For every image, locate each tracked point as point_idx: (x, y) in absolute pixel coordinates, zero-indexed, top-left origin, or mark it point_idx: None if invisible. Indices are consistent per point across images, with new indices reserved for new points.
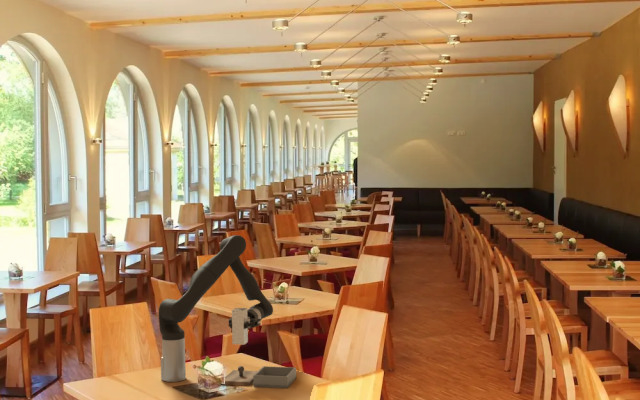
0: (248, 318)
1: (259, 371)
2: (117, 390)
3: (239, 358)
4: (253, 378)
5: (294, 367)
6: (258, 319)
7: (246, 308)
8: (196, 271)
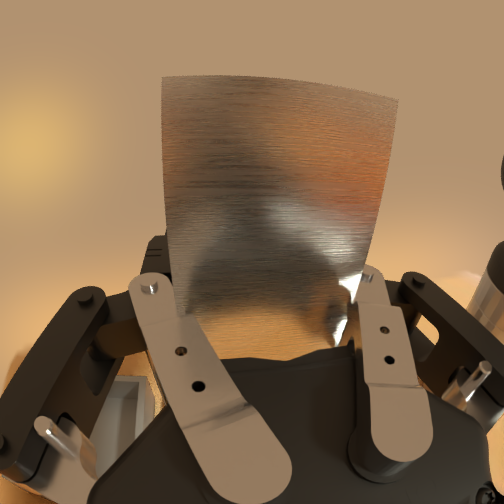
0: (187, 374)
1: (135, 432)
2: (455, 295)
3: None
4: (148, 382)
5: (6, 478)
6: (8, 412)
7: (173, 77)
8: None
